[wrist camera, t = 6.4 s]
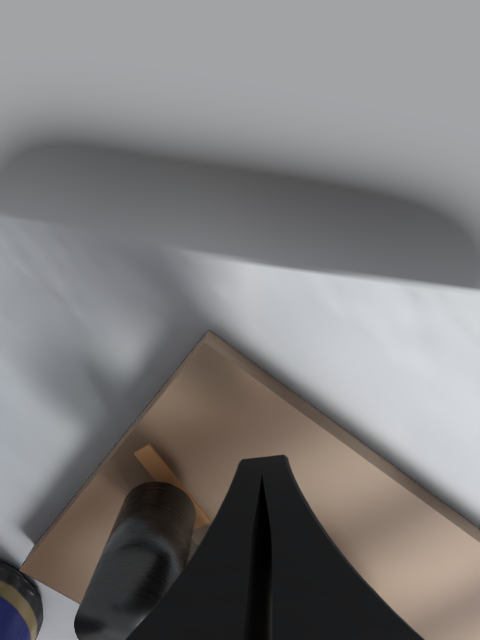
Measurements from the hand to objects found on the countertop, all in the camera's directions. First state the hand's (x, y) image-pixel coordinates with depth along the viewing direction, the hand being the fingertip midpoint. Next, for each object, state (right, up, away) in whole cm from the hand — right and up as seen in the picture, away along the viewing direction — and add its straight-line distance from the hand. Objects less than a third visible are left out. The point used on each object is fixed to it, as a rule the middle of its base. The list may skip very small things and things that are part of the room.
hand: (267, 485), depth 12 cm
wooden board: (+1, -6, +6) cm, 8 cm away
